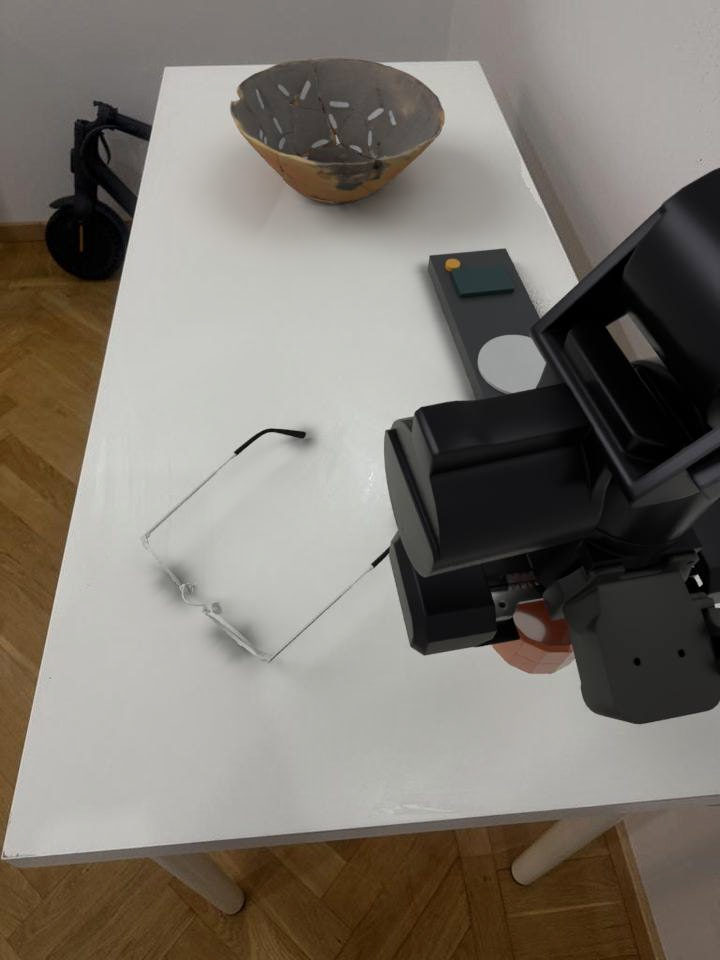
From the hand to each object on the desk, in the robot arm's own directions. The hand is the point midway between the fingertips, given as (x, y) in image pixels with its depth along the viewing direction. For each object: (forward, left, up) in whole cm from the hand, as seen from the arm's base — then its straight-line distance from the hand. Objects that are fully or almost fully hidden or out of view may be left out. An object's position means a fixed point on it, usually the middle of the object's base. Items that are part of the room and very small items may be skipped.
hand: (535, 622), depth 40 cm
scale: (+5, -36, -9) cm, 37 cm away
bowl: (+27, -58, -10) cm, 65 cm away
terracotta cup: (0, 0, -1) cm, 1 cm away
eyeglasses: (+19, -6, -10) cm, 22 cm away
